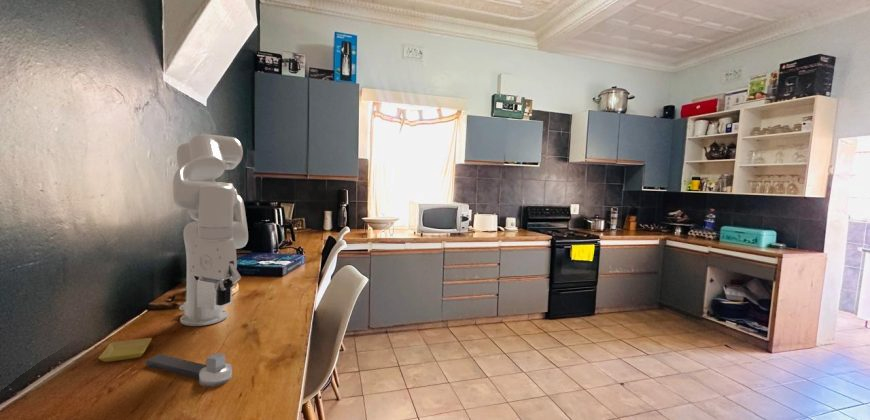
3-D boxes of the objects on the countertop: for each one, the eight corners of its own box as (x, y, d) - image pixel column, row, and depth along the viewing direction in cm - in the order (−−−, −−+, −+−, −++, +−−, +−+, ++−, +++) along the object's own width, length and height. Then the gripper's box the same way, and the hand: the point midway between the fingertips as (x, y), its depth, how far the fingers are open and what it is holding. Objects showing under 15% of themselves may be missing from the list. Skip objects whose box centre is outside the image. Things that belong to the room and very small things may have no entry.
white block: (197, 306, 91) (197, 280, 90) (215, 300, 96) (215, 274, 95) (214, 310, 89) (214, 283, 89) (231, 303, 94) (232, 277, 94)
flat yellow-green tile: (143, 360, 88) (143, 351, 88) (97, 366, 85) (97, 357, 84) (152, 345, 96) (152, 337, 96) (110, 350, 92) (110, 342, 92)
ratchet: (139, 369, 84) (139, 347, 83) (166, 357, 90) (166, 336, 89) (215, 389, 78) (215, 365, 77) (238, 374, 84) (238, 352, 84)
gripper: (175, 231, 89) (175, 301, 91) (231, 239, 85) (229, 312, 87) (202, 227, 97) (201, 292, 98) (255, 234, 92) (253, 302, 94)
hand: (214, 301), depth 92 cm, fingers closed on white block, 5 cm apart
